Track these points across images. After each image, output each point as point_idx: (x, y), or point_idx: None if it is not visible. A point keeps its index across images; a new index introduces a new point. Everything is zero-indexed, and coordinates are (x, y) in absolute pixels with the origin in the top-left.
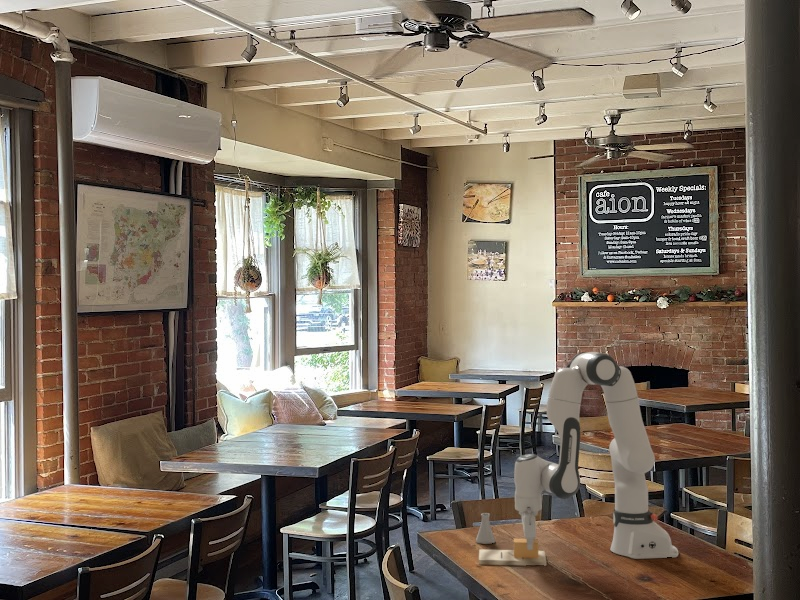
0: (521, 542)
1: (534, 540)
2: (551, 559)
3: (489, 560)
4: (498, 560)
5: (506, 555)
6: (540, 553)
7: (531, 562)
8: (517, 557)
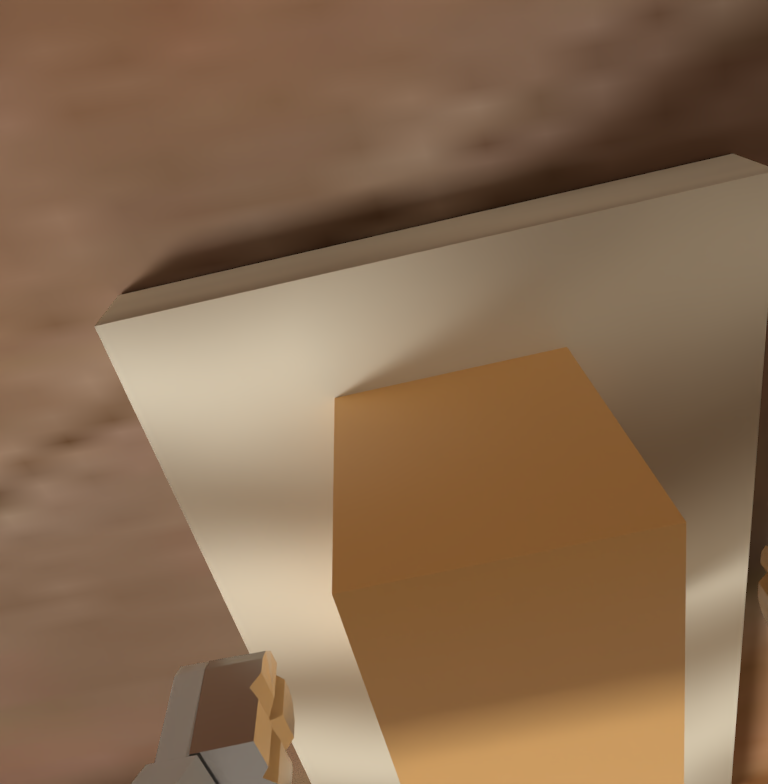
0: (680, 773)
1: (485, 625)
2: (317, 131)
3: (728, 781)
4: (734, 726)
5: None
6: (295, 360)
7: (749, 399)
8: None
